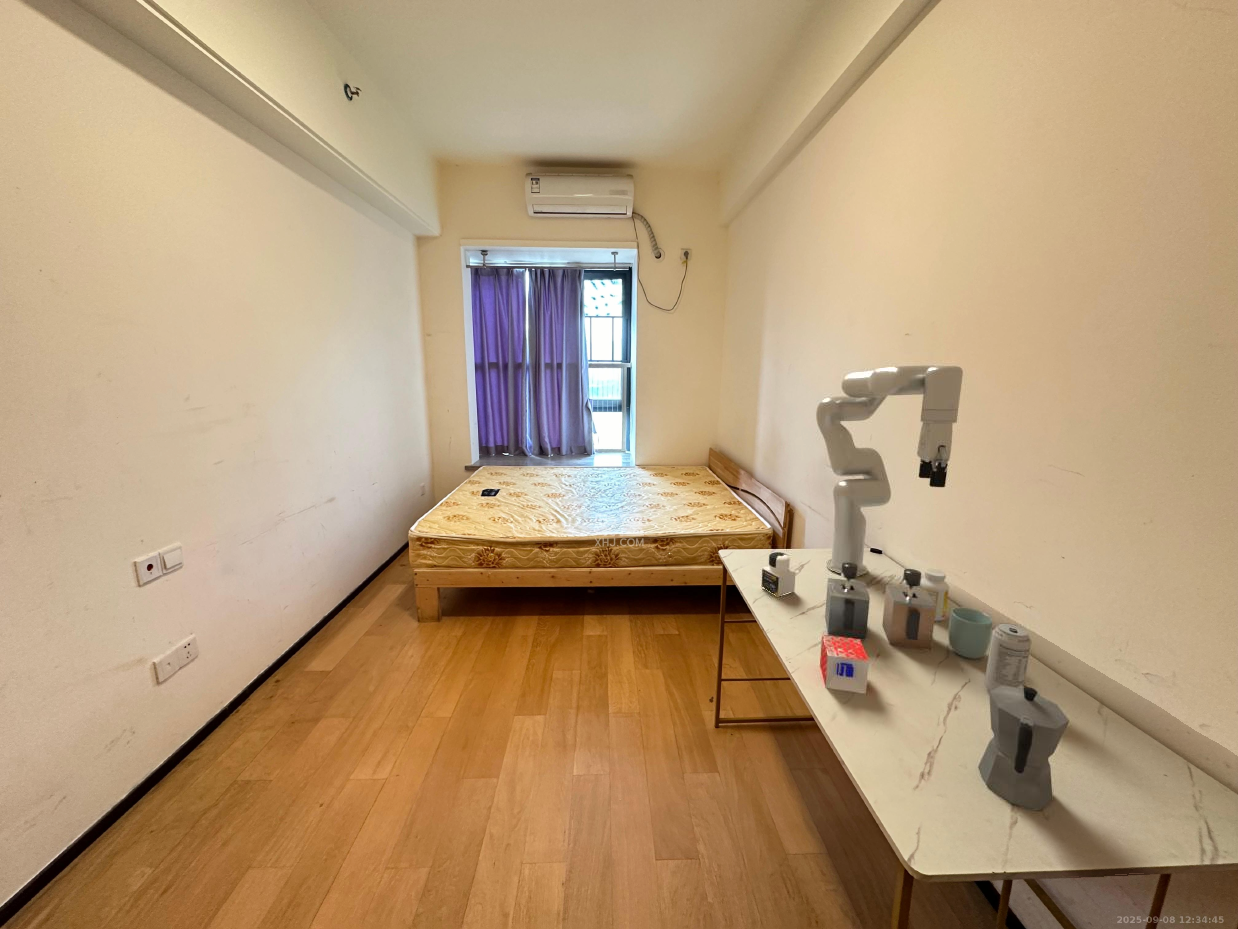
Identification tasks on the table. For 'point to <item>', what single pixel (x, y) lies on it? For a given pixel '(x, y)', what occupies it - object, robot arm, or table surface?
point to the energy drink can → (1007, 656)
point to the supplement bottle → (936, 590)
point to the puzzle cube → (844, 664)
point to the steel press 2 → (908, 617)
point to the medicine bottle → (778, 575)
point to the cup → (969, 632)
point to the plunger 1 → (849, 572)
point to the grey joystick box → (847, 609)
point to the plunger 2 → (911, 579)
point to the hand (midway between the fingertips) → (931, 482)
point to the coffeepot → (1022, 745)
